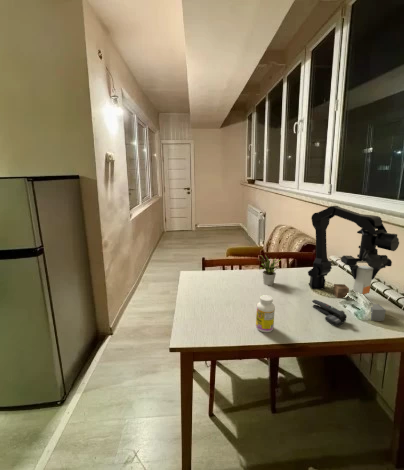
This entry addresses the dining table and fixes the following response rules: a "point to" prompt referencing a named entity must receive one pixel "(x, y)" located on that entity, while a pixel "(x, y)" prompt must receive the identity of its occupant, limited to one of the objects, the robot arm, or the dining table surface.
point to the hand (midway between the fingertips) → (363, 279)
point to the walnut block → (340, 290)
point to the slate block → (377, 312)
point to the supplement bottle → (265, 314)
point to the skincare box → (363, 280)
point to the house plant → (268, 271)
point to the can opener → (330, 313)
